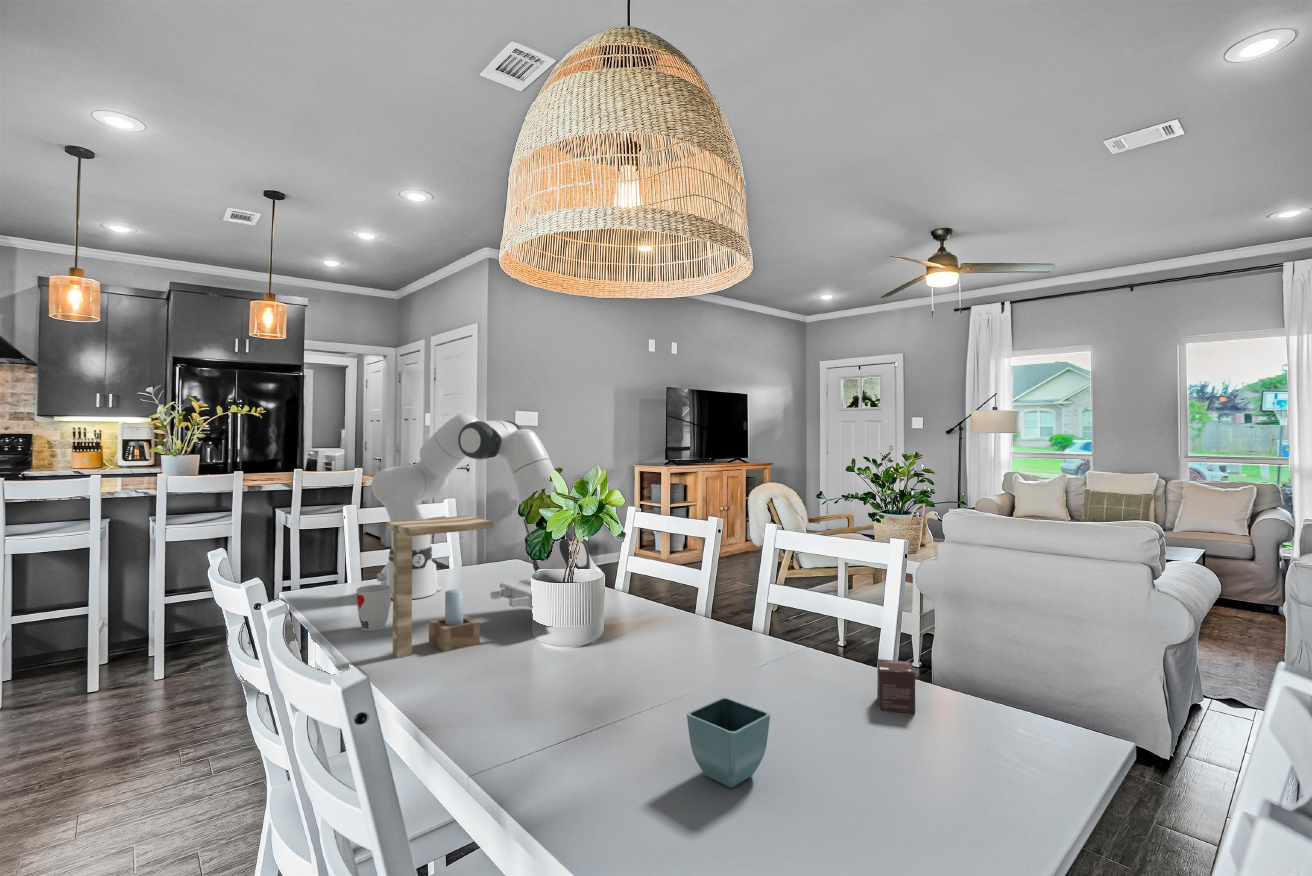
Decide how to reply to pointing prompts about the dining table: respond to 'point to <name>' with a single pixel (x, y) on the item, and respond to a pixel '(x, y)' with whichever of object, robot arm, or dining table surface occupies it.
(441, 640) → the socket block
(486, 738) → the dining table surface
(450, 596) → the peg
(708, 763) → the flower pot
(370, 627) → the cup
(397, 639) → the wooden l-shaped post
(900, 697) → the box
